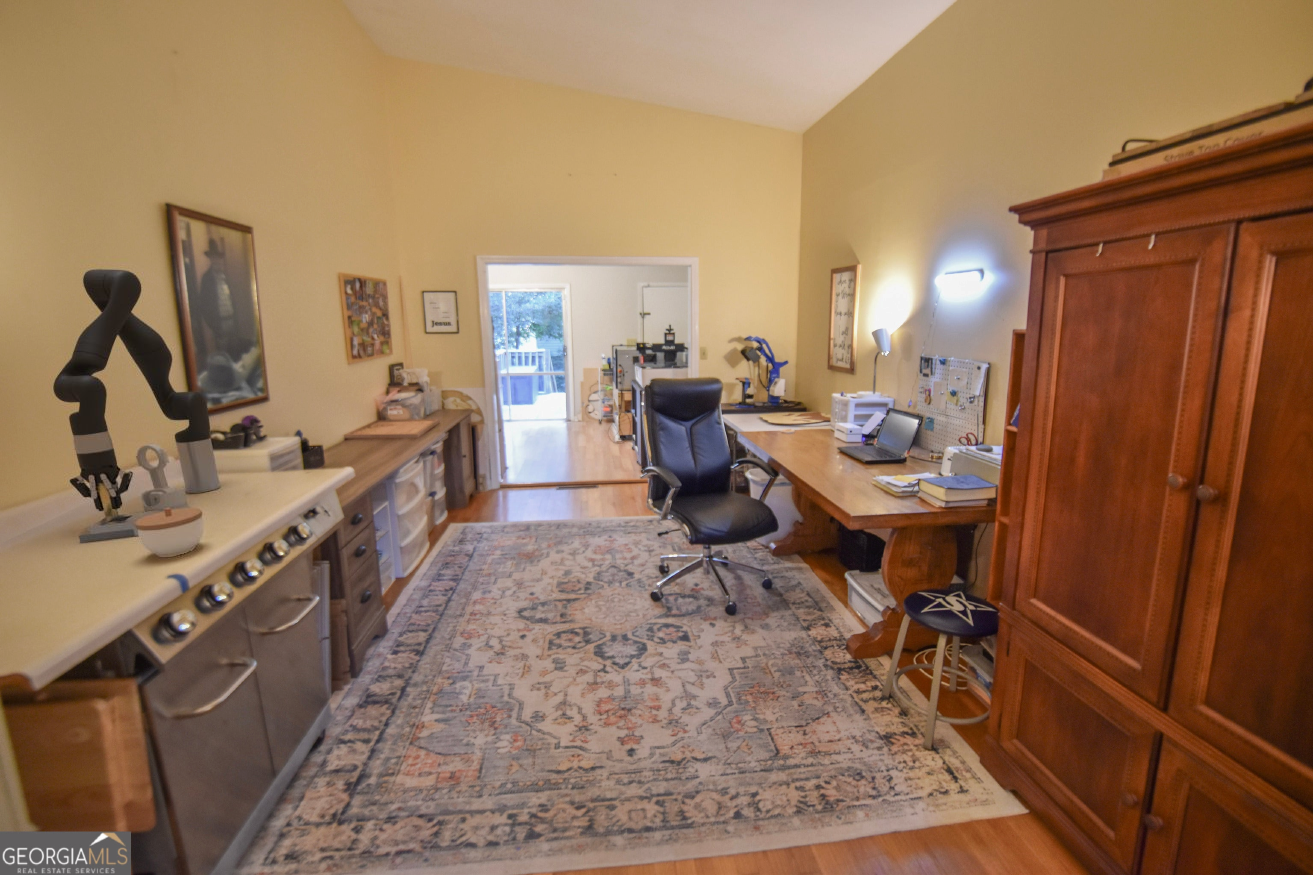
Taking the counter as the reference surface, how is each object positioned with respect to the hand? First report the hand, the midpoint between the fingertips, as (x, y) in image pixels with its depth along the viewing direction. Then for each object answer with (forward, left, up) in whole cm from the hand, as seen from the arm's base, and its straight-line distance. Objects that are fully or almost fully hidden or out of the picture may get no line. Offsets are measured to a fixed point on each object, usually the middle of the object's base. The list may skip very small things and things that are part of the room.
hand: (109, 509), depth 164 cm
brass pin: (0, 0, -4) cm, 4 cm away
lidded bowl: (+31, +26, -5) cm, 41 cm away
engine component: (-11, +8, -5) cm, 14 cm away
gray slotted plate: (+8, +8, -5) cm, 13 cm away
